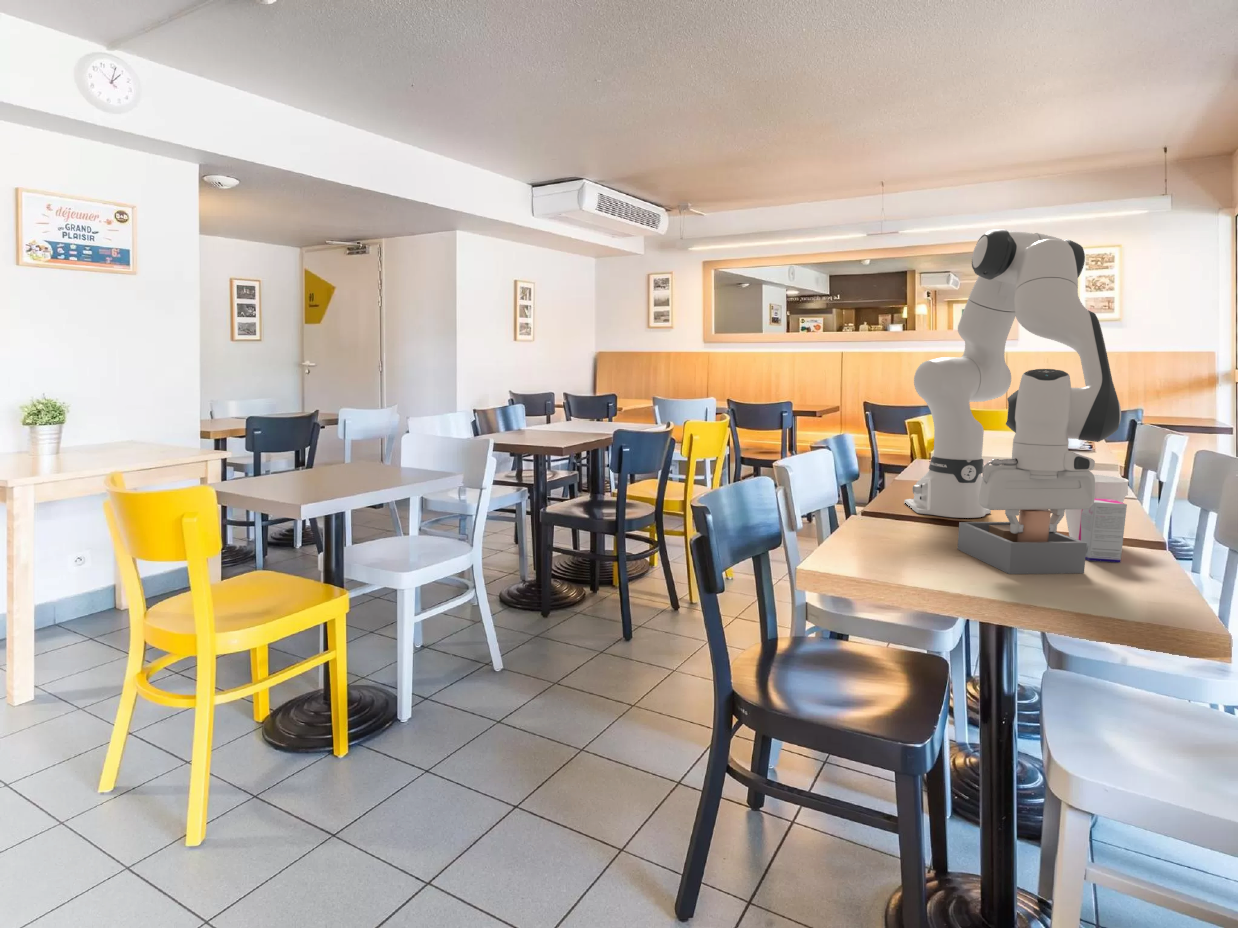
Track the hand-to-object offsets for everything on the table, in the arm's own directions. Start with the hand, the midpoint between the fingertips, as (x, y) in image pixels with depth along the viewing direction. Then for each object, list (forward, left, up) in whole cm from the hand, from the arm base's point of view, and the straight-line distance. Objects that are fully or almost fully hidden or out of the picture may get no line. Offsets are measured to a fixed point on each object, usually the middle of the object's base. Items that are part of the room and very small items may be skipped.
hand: (1033, 532), depth 137 cm
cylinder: (0, 0, -3) cm, 3 cm away
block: (-8, 0, -6) cm, 9 cm away
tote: (-4, 0, -6) cm, 7 cm away
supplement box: (-5, +17, -7) cm, 19 cm away
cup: (-19, +25, -6) cm, 32 cm away
